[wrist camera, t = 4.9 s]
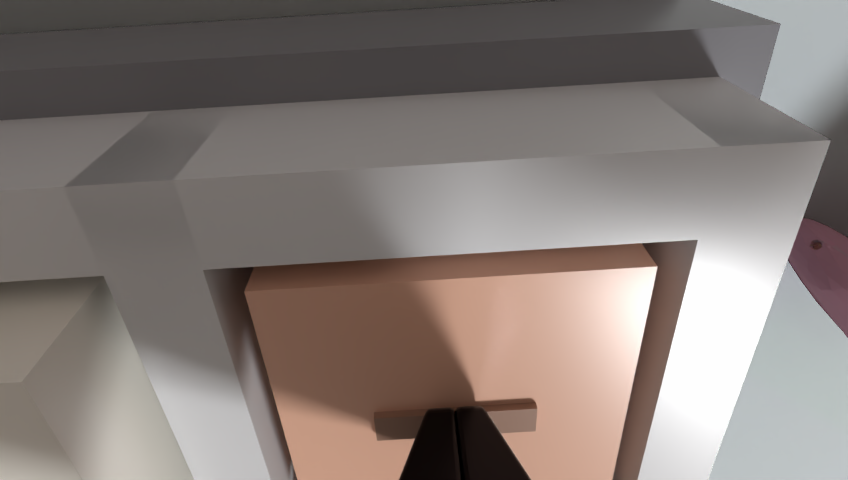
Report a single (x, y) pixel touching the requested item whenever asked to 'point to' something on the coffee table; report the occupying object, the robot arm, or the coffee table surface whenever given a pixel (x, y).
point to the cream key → (77, 389)
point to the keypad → (408, 184)
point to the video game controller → (823, 268)
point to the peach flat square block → (454, 354)
